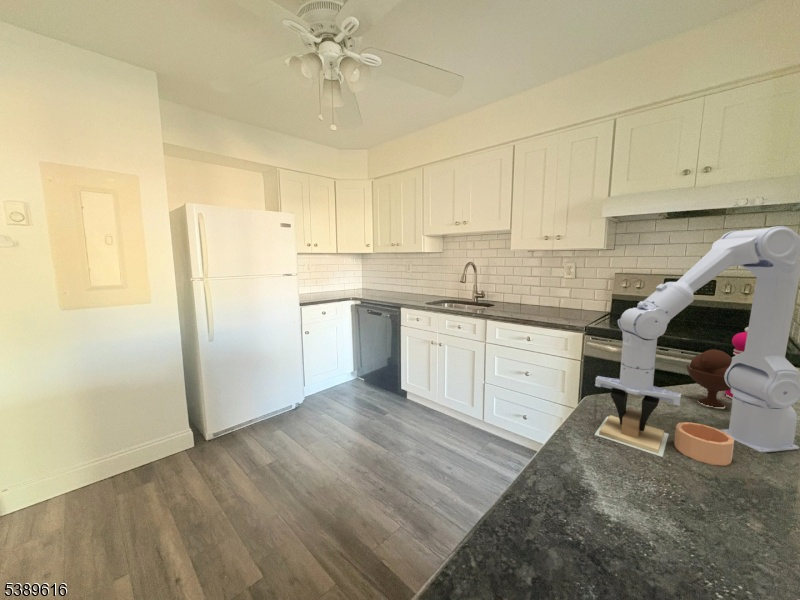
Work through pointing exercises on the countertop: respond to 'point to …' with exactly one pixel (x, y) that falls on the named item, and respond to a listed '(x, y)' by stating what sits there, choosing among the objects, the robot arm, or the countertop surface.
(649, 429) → the lid
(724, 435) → the bowl
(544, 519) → the countertop surface
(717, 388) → the ice cream bowl
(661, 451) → the mat
